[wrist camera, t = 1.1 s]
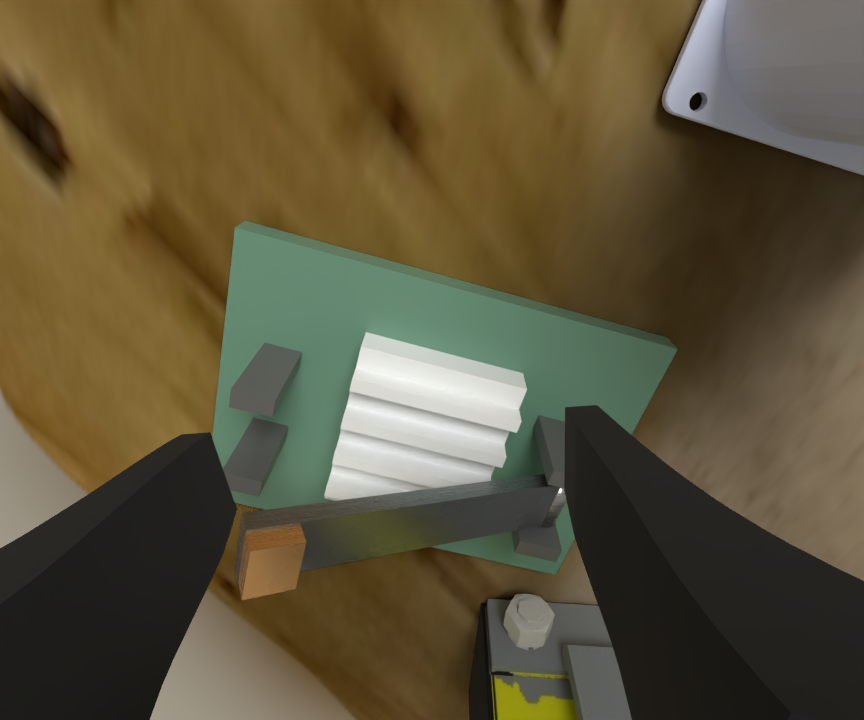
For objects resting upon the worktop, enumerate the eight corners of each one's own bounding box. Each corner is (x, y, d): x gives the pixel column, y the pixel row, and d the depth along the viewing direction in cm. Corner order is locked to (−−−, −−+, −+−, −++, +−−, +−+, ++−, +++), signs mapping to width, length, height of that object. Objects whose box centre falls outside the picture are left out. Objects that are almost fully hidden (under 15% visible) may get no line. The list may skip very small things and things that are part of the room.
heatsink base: (667, 337, 20) (720, 397, 16) (551, 558, 26) (570, 643, 22) (245, 220, 19) (191, 255, 15) (215, 481, 24) (169, 557, 20)
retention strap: (565, 468, 20) (588, 493, 19) (545, 507, 21) (567, 534, 20) (241, 508, 14) (250, 548, 13) (233, 561, 15) (241, 602, 14)
